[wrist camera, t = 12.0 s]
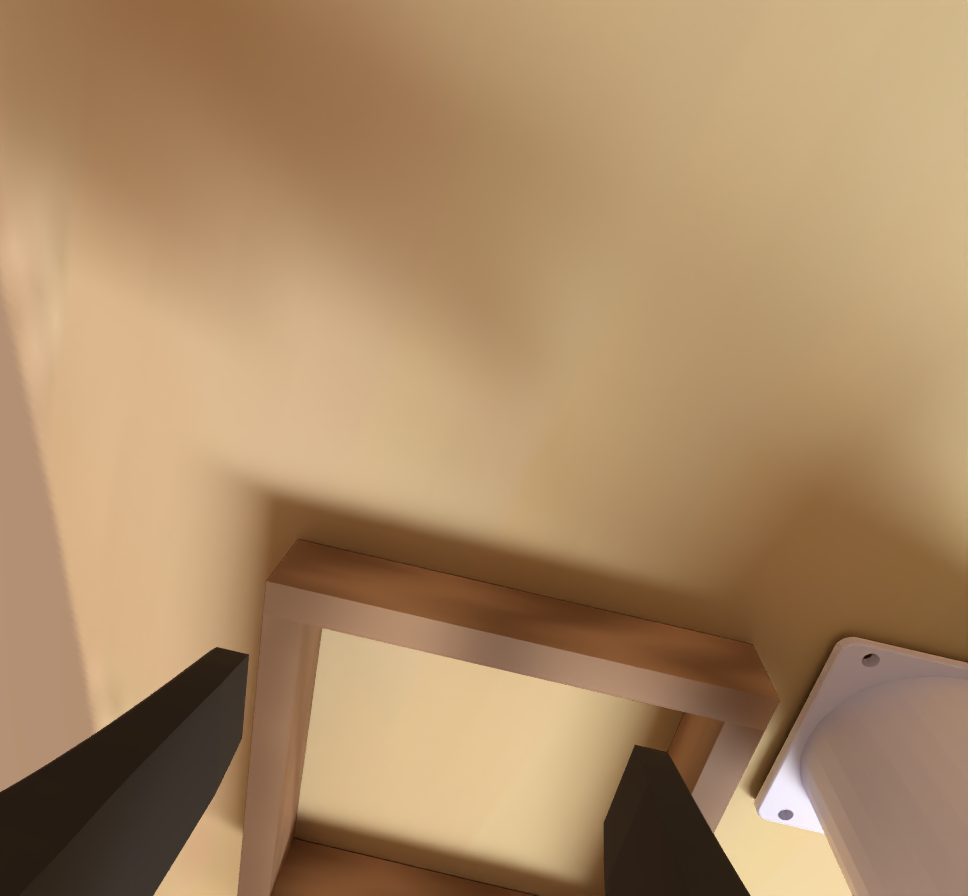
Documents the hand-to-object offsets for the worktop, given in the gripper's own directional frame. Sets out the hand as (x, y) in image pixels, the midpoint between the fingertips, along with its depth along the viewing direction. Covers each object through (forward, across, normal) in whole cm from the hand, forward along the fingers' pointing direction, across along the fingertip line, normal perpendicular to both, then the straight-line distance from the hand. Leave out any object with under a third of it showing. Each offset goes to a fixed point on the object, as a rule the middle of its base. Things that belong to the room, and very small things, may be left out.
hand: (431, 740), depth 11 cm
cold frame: (+9, -2, +10) cm, 14 cm away
